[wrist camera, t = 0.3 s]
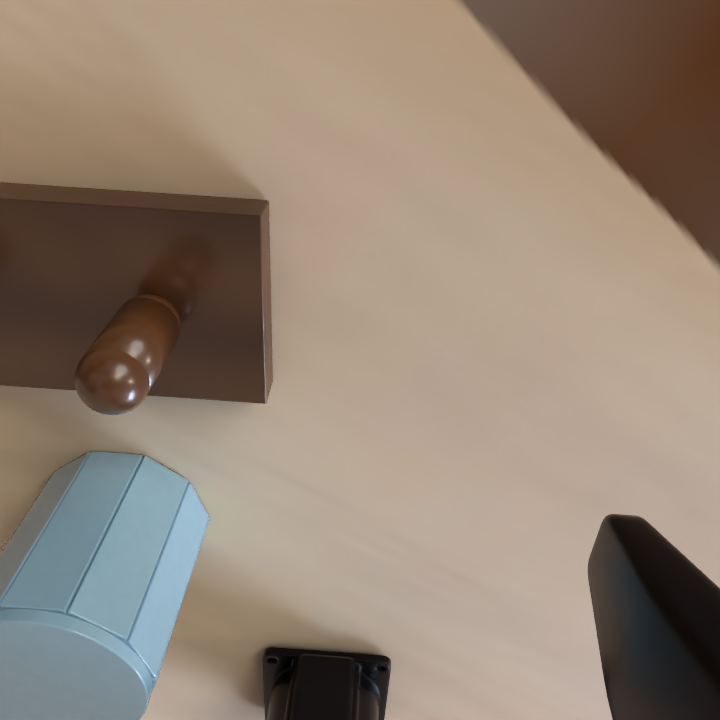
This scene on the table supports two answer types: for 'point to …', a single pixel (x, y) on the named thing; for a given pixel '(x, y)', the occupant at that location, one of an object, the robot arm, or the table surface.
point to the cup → (95, 588)
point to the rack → (134, 295)
